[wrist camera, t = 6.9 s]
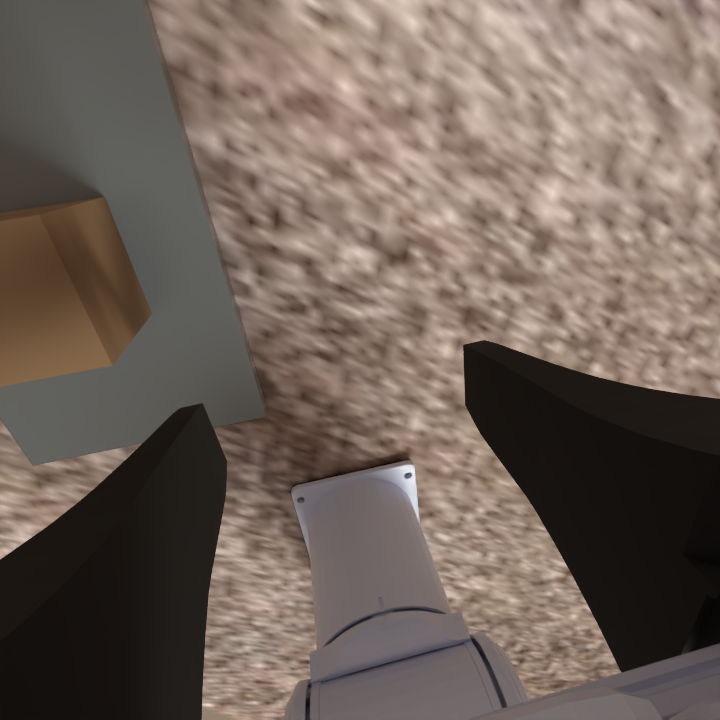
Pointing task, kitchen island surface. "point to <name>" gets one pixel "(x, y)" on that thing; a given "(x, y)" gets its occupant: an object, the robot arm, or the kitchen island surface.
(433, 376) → the kitchen island surface
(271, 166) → the kitchen island surface
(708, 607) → the robot arm
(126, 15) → the board
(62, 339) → the cube
